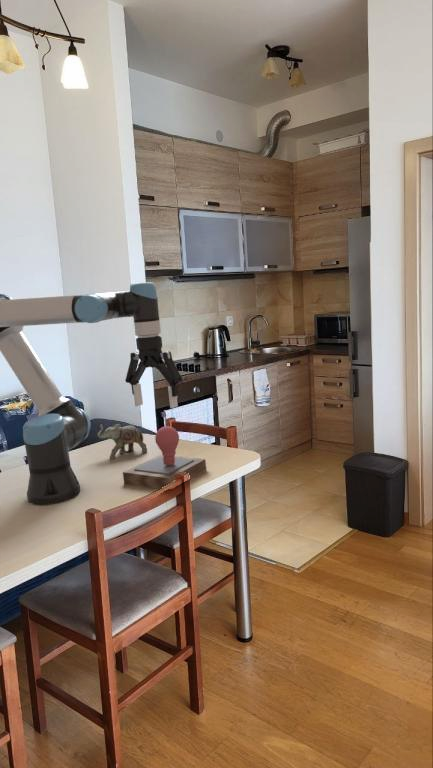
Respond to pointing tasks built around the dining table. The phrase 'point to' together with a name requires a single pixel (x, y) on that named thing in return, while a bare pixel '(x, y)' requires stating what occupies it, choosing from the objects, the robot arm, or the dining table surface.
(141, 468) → the stand
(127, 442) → the figurine
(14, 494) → the dining table surface
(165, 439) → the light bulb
